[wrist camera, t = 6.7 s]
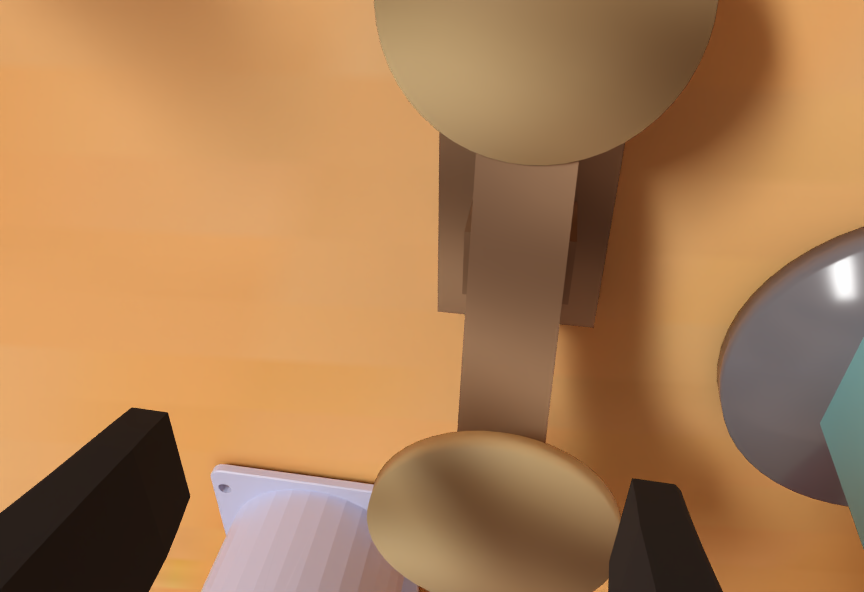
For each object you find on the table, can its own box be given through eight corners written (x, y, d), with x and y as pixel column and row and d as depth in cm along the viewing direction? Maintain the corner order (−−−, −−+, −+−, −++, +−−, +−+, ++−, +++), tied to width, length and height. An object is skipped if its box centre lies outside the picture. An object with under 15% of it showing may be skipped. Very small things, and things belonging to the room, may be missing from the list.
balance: (598, 455, 25) (602, 626, 20) (412, 431, 26) (372, 591, 21) (731, -200, 14) (809, -174, 9) (401, -204, 15) (311, -181, 10)
